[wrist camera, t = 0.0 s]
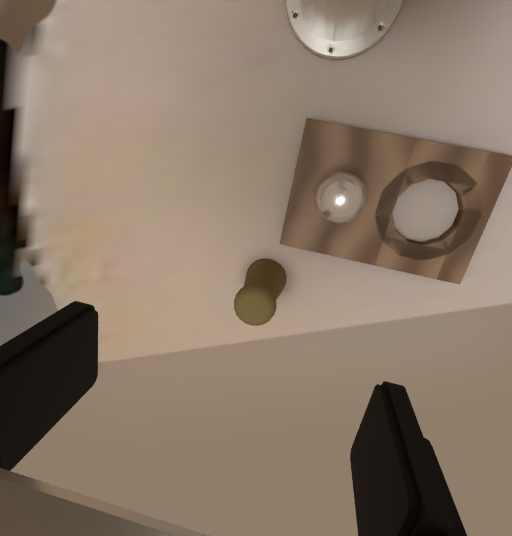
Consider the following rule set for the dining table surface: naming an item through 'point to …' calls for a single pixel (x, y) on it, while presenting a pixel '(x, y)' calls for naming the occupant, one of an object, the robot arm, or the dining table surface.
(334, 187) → the ball
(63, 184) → the dining table surface
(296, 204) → the board
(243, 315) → the cork
